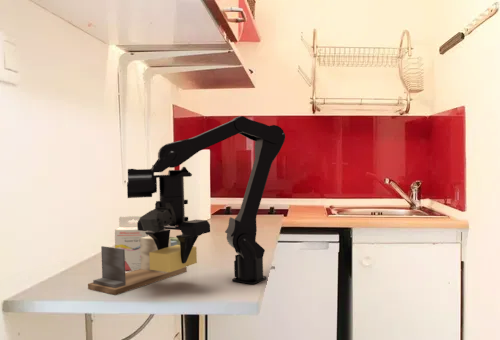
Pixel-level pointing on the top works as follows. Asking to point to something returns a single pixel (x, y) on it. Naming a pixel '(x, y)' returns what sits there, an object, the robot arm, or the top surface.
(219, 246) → the top surface
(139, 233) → the ink cartridge box
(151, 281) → the brown book holder
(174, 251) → the ochre book
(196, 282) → the top surface
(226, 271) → the top surface
